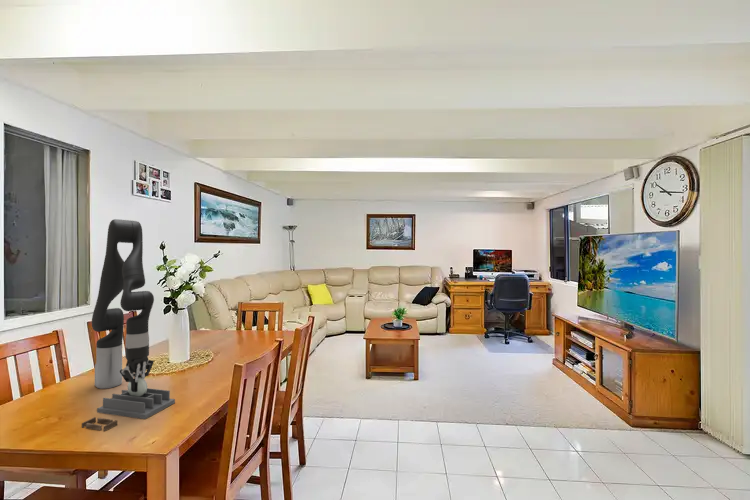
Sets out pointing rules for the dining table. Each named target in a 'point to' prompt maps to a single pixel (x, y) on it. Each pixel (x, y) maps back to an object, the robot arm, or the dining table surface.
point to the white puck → (141, 388)
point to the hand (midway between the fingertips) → (137, 390)
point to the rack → (136, 404)
